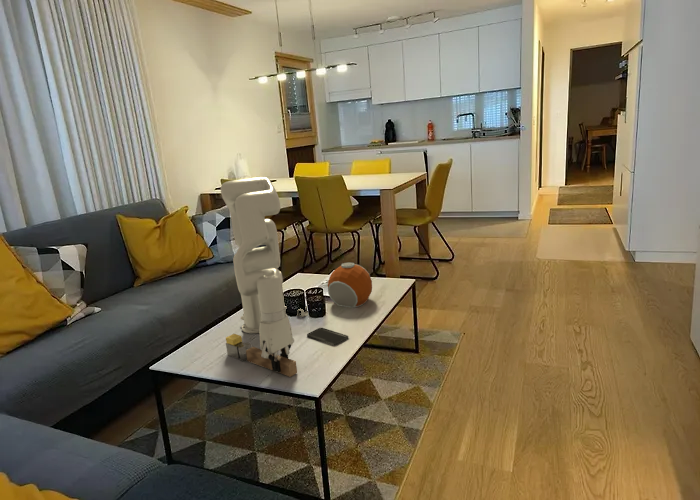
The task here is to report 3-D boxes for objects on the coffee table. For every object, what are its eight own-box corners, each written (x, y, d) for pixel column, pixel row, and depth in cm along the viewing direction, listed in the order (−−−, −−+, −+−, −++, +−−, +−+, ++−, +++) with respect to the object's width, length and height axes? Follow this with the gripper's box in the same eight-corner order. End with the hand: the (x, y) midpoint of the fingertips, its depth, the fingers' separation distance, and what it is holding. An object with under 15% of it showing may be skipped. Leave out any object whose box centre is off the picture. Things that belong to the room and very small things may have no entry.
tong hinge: (226, 355, 164) (224, 343, 163) (236, 350, 168) (234, 338, 167) (245, 362, 158) (243, 350, 157) (255, 357, 161) (253, 344, 160)
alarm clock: (380, 297, 207) (377, 259, 202) (360, 312, 192) (357, 271, 188) (343, 293, 217) (340, 256, 212) (321, 306, 202) (317, 268, 198)
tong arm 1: (247, 361, 158) (245, 350, 157) (251, 359, 159) (249, 348, 158) (290, 376, 146) (288, 365, 145) (293, 374, 147) (292, 363, 146)
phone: (320, 327, 179) (349, 336, 169) (321, 329, 180) (350, 339, 170) (305, 334, 174) (334, 344, 164) (305, 337, 174) (334, 347, 164)
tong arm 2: (251, 359, 160) (249, 348, 159) (254, 357, 161) (253, 346, 160) (293, 374, 147) (292, 363, 146) (297, 372, 148) (295, 361, 147)
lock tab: (226, 342, 163) (225, 337, 163) (234, 338, 166) (234, 333, 165) (233, 345, 161) (232, 340, 160) (242, 341, 163) (241, 335, 163)
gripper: (284, 303, 154) (291, 355, 159) (244, 321, 142) (253, 377, 146) (300, 307, 149) (307, 360, 154) (261, 326, 137) (269, 383, 142)
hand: (281, 368), depth 150 cm, fingers open, 3 cm apart
